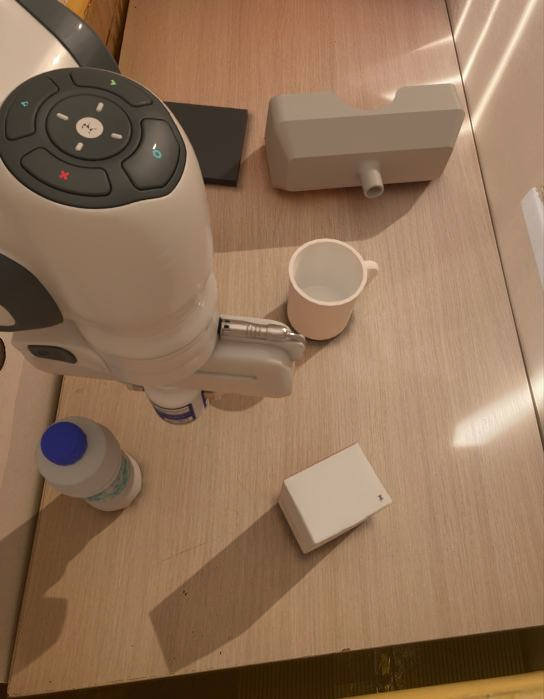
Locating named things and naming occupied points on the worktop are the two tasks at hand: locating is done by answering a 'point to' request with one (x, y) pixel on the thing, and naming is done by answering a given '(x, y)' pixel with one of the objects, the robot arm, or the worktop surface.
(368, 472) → the small box
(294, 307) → the mug
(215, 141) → the scale
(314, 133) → the tank
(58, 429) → the bottle
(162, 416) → the pill bottle
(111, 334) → the robot arm
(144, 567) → the worktop surface
